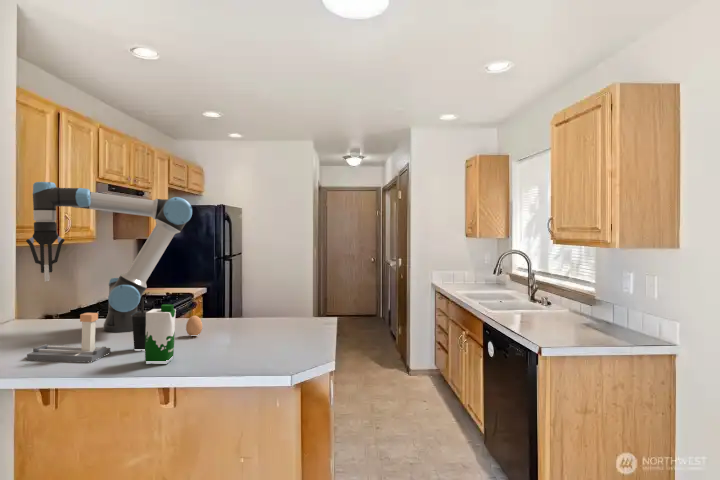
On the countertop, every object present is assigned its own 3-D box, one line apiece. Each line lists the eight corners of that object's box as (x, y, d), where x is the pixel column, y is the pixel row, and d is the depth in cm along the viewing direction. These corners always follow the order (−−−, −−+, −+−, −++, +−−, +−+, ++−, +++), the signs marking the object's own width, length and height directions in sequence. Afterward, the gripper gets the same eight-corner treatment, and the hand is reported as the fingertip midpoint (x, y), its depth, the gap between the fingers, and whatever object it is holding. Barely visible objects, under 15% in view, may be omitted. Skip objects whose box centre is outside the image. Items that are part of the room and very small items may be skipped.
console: (26, 360, 160) (27, 350, 160) (50, 350, 172) (50, 342, 172) (91, 362, 160) (91, 353, 160) (110, 353, 172) (110, 344, 172)
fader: (79, 352, 164) (80, 314, 163) (85, 349, 168) (86, 312, 167) (90, 352, 164) (91, 315, 163) (96, 349, 168) (98, 313, 167)
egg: (204, 335, 205) (205, 314, 205) (197, 338, 198) (198, 317, 198) (190, 334, 206) (190, 313, 206) (182, 337, 199) (183, 316, 199)
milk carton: (168, 365, 160) (170, 307, 159) (141, 365, 159) (142, 306, 159) (176, 358, 168) (178, 303, 168) (150, 358, 168) (152, 302, 167)
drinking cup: (156, 348, 180) (158, 297, 180) (141, 353, 173) (143, 299, 173) (141, 346, 183) (142, 295, 183) (125, 350, 176) (127, 297, 175)
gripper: (64, 221, 192) (66, 278, 193) (25, 221, 185) (27, 281, 186) (64, 221, 185) (66, 280, 186) (24, 221, 179) (26, 283, 179)
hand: (47, 280), depth 186 cm, fingers closed
